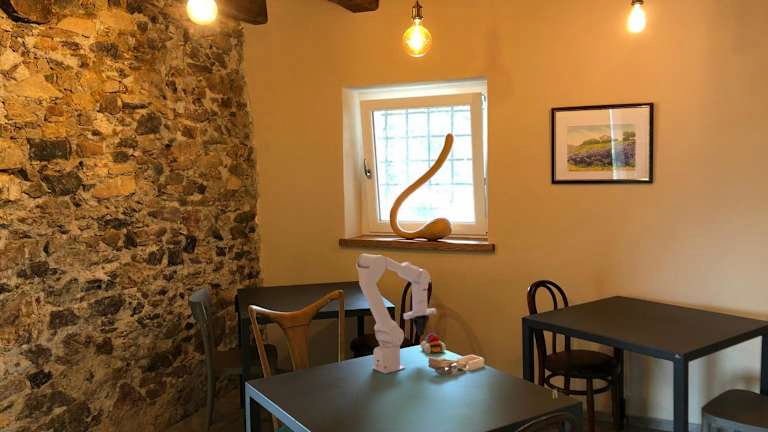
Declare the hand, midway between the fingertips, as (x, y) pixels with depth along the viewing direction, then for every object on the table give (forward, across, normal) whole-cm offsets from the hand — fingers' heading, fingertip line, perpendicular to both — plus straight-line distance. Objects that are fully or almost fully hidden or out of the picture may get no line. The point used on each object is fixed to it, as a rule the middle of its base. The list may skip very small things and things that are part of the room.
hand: (420, 334), depth 238 cm
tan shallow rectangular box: (+9, +8, -19) cm, 23 cm away
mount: (+9, -3, -19) cm, 21 cm away
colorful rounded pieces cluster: (+10, +10, +5) cm, 15 cm away
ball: (+7, +10, -19) cm, 23 cm away
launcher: (+8, -3, -15) cm, 18 cm away
